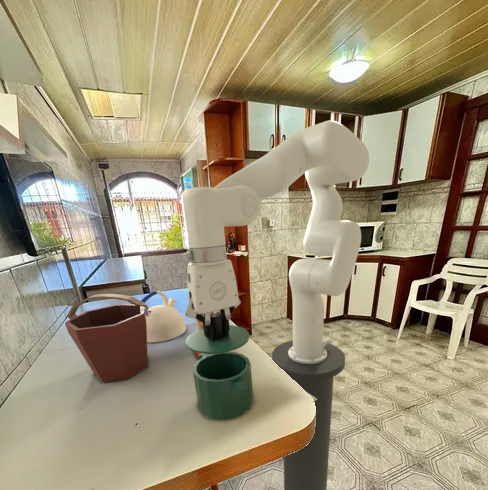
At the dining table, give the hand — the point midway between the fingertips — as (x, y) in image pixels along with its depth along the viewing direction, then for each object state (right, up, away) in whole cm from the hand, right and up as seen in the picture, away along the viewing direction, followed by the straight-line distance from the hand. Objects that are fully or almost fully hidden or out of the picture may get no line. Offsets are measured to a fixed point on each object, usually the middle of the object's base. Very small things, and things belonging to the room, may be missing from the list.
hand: (217, 336), depth 61 cm
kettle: (-29, -1, +53) cm, 60 cm away
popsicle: (-8, -8, +31) cm, 33 cm away
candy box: (-7, -2, +45) cm, 46 cm away
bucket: (-34, -12, +26) cm, 45 cm away
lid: (0, -1, 0) cm, 1 cm away
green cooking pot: (+1, -17, +7) cm, 18 cm away
